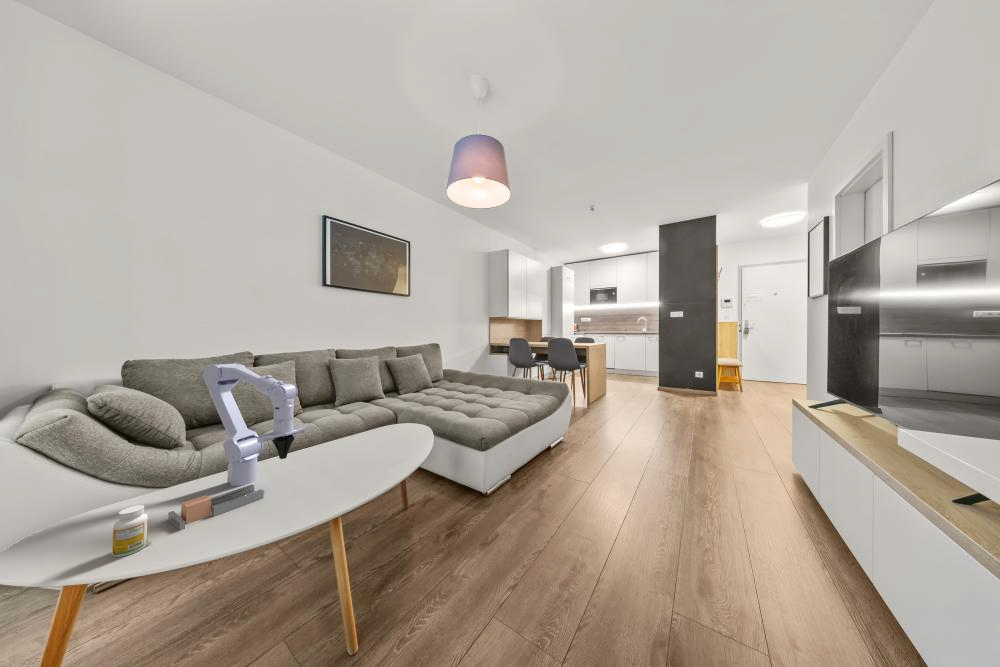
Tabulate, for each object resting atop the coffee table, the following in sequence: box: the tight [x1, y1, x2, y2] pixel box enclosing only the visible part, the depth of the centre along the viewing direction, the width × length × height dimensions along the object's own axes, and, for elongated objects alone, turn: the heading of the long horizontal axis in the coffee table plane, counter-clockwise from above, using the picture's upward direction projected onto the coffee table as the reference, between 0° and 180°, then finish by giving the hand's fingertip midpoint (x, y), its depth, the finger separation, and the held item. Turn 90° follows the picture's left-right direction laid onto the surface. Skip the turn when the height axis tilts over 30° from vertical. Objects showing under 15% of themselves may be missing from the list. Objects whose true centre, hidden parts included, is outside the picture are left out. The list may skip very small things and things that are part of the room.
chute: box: [167, 484, 265, 532], centre depth 92 cm, size 10×22×4 cm, turn 149°
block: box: [180, 494, 212, 525], centre depth 86 cm, size 4×5×4 cm
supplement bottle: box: [111, 504, 149, 558], centre depth 74 cm, size 5×5×10 cm
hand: (282, 458), depth 107 cm, fingers closed
